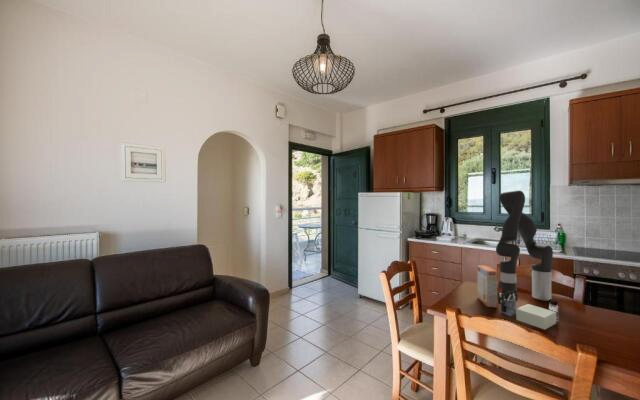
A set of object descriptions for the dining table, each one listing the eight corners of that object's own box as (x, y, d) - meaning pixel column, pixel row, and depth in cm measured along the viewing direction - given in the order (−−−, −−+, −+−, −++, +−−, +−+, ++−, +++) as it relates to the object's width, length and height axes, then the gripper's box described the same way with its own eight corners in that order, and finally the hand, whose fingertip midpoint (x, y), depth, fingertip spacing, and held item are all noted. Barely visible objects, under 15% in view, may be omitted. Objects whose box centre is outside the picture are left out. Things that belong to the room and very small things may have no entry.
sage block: (527, 314, 144) (527, 303, 144) (555, 323, 134) (555, 312, 134) (516, 320, 138) (516, 308, 138) (544, 330, 128) (544, 317, 128)
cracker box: (498, 307, 153) (497, 271, 153) (486, 307, 154) (486, 271, 154) (487, 298, 167) (487, 265, 166) (477, 298, 168) (477, 264, 168)
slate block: (506, 310, 149) (506, 298, 149) (515, 314, 145) (515, 301, 145) (500, 312, 147) (500, 299, 147) (510, 316, 143) (510, 302, 143)
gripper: (508, 276, 152) (508, 305, 152) (492, 280, 146) (492, 310, 146) (523, 280, 145) (523, 310, 146) (507, 284, 139) (507, 315, 139)
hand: (508, 310), depth 146 cm, fingers open, 7 cm apart
